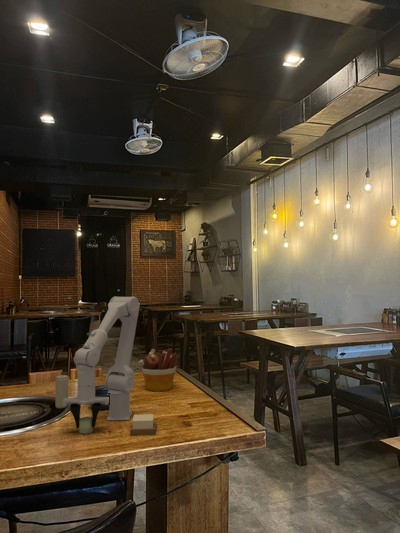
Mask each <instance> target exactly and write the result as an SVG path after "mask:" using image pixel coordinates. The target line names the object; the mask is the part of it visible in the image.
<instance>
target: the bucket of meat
mask: <svg viewBox="0 0 400 533" xmlns="http://www.w3.org/2000/svg"><path fill="white" fill-rule="evenodd" d="M150 350H151V351H149V352H148V354H147V355H146V356H145V357H144V360H143V359H140V360H138V365H141V371H142V374H143V379H144V384H145V388H146V389H147V390H148V391H149V392H155V391H160V392H166V391H165V390H167V391H169V390H170V389H171V388H172V386H173V383H174V378H175V373H176V369H177V365H178V364H179V361H178V359H177V356H178V355H177V352H173V350H172V348H170V347H169V348H167V351H166V350H165V351H162V352H156V349H154V348H151V349H150ZM172 352H173V353H172ZM155 393H156V392H155Z"/></svg>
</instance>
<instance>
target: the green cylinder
mask: <svg viewBox="0 0 400 533" xmlns="http://www.w3.org/2000/svg"><path fill="white" fill-rule="evenodd" d="M93 431H94V428H92V416H83V417H80V419H79V428H78V433H79V434H83V435H84V434H86V435H87V434H90V433H93Z"/></svg>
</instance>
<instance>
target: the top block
mask: <svg viewBox="0 0 400 533" xmlns="http://www.w3.org/2000/svg"><path fill="white" fill-rule="evenodd" d="M153 421H154V414H153V413H147V414H146V413H145V414H133V417H132V423H133V429H147V428H153Z"/></svg>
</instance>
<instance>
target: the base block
mask: <svg viewBox="0 0 400 533" xmlns="http://www.w3.org/2000/svg"><path fill="white" fill-rule="evenodd" d="M157 422H158V421H157V420H153V428H147V429H133V422H132V423H131V426H130V429H129V432H130V433H129V436H130V437H138V436H139V437H141V436H142V437H145V436H146V437H149V436H156V434H157V426H158V424H157Z"/></svg>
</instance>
